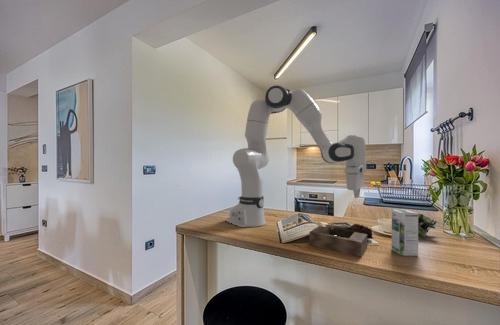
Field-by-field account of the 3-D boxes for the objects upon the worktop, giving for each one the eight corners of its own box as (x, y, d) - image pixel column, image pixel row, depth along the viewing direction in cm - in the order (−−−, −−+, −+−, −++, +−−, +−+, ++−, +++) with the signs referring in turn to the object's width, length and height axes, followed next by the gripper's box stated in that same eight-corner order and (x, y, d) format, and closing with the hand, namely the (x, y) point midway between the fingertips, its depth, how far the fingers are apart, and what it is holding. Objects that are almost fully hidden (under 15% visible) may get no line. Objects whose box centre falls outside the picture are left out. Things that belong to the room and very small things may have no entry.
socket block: (309, 245, 83) (309, 232, 83) (319, 237, 91) (319, 225, 91) (361, 257, 72) (361, 242, 72) (367, 247, 79) (367, 234, 79)
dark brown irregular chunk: (325, 236, 92) (325, 223, 92) (327, 232, 98) (327, 220, 99) (372, 243, 85) (372, 228, 85) (371, 237, 91) (371, 224, 91)
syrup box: (390, 249, 78) (390, 209, 78) (407, 249, 78) (407, 209, 78) (401, 256, 72) (400, 212, 72) (419, 256, 72) (419, 212, 72)
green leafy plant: (418, 245, 95) (434, 223, 95) (431, 250, 84) (449, 225, 84) (392, 228, 98) (408, 207, 98) (402, 231, 88) (419, 207, 88)
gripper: (354, 168, 115) (355, 194, 115) (343, 169, 99) (344, 200, 99) (367, 168, 111) (368, 195, 111) (358, 169, 95) (359, 201, 95)
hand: (356, 197), depth 104 cm, fingers closed
